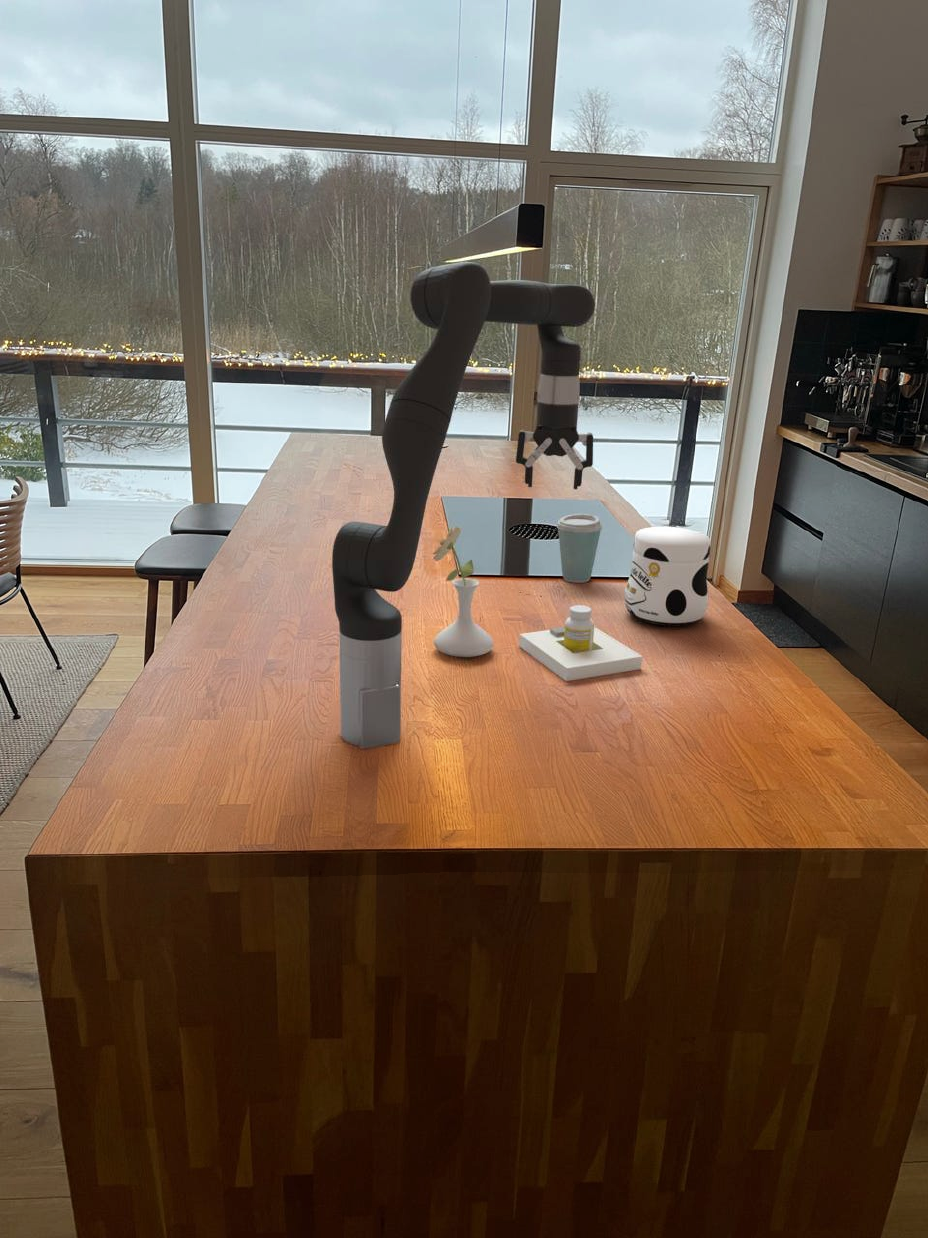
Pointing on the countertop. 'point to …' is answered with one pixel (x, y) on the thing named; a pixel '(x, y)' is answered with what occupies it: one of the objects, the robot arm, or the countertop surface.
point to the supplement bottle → (579, 630)
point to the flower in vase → (461, 610)
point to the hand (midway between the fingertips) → (552, 487)
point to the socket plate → (579, 654)
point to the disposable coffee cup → (578, 545)
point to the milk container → (668, 576)
